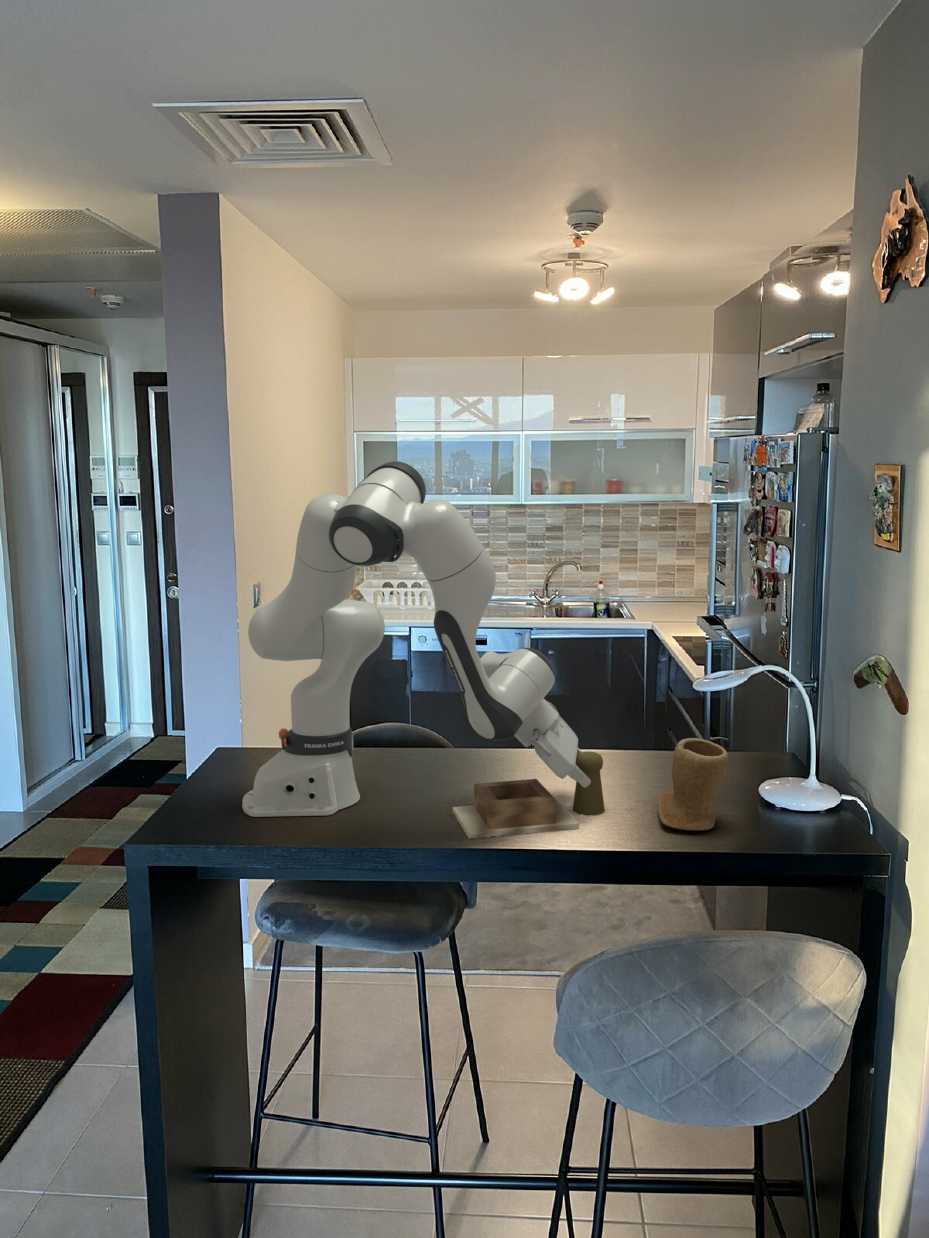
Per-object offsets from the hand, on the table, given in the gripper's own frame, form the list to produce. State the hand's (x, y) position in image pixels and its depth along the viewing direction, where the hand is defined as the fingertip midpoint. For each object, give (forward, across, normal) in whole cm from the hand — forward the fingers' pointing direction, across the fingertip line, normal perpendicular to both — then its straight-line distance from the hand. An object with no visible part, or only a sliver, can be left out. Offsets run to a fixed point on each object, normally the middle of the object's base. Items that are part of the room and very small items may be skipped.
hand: (588, 776), depth 179 cm
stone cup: (+18, -3, -8) cm, 20 cm away
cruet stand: (-5, -7, +14) cm, 16 cm away
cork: (+5, 0, +5) cm, 7 cm away
